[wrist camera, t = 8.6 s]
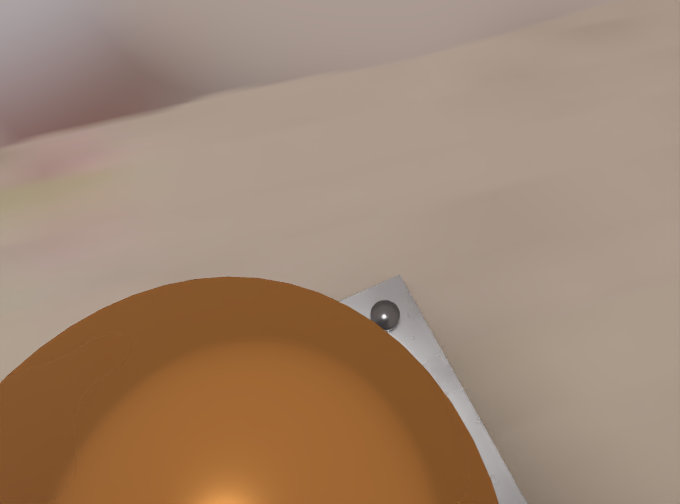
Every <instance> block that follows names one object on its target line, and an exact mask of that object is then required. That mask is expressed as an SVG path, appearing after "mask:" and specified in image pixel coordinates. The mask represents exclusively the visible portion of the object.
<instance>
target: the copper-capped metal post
mask: <svg viewBox="0 0 680 504" xmlns="http://www.w3.org/2000/svg"><path fill="white" fill-rule="evenodd" d="M0 504H499V502H498V499H497V496H496V493H495V490H494V487H493V483H492V480H491V478H490V476H489V474H488V471H487V469H486V467H485V465H484V462H483V460H482V458H481V455H480V453H479V451H478V449H477V446H476V444H475V442H474V440H473V438H472V436H471V434H470V433H469V431H468V429H467V428H466V426H465V424H464V422H463V421H462V419H461V417H460V416H459V414H458V412H457V411H456V409H455V407H454V405H453V404H452V402H451V401H450V400H449V398H448V397H447V396H446V394H445V393H444V392H443V390H442V389H441V388H440V386H439V385H438V384H437V382H436V381H435V380H434V378H433V377H432V376H431V374H430V373H429V372H428V371H427V370H426V369H425V367H424V366H423V365H422V364H421V363H420V362H419V361H418V360H417V359H416V358H415V357H414V356H413V355H412V354H411V353H410V352H409V351H408V350H407V349H406V348H405V347H404V346H403V345H402V344H401V343H400V342H399V341H397V340H396V339H395V338H394V337H392V336H391V335H390V334H389V333H387V332H386V331H385V330H384V329H382V328H381V327H380V326H379V325H378V324H376V323H375V322H373V321H372V320H370V319H368V318H367V317H365V316H363V315H362V314H360V313H359V312H357V311H355V310H354V309H352V308H351V307H349V306H347V305H345V304H343V303H341V302H338V301H336V300H334V299H332V298H330V297H327V296H325V295H323V294H321V293H318V292H315V291H312V290H309V289H305V288H302V287H299V286H296V285H292V284H289V283H284V282H278V281H272V280H266V279H260V278H245V277H217V278H204V279H194V280H189V281H184V282H179V283H173V284H168V285H164V286H161V287H157V288H154V289H151V290H148V291H145V292H142V293H138V294H135V295H132V296H130V297H128V298H125V299H123V300H121V301H119V302H116V303H114V304H112V305H109V306H107V307H105V308H103V309H101V310H99V311H97V312H95V313H93V314H92V315H90V316H88V317H86V318H85V319H83V320H81V321H79V322H78V323H76V324H74V325H72V326H71V327H69V328H68V329H66V330H65V331H63V332H62V333H60V334H59V335H58V336H56V337H55V338H53V339H52V340H51V341H49V342H48V343H46V344H45V345H43V346H42V347H41V348H39V349H38V350H37V351H36V352H34V353H33V354H32V355H31V356H30V357H29V358H27V359H26V360H25V361H24V362H23V363H22V364H20V365H19V366H18V367H17V368H16V369H15V370H13V371H12V372H11V373H10V374H9V375H8V376H7V377H6V378H5V379H4V380H3V381H2V382H1V383H0Z"/></svg>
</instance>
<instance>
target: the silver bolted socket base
mask: <svg viewBox="0 0 680 504" xmlns="http://www.w3.org/2000/svg"><path fill="white" fill-rule="evenodd" d="M338 302H341V303H343V304H345V305H347V306H349V307H351V308H352V309H354V310H355V311H357V312H359V313H360V314H362V315H363V316H365V317H367V318H368V319H370V320H372V321H373V322H375V323H376V324H378V325H379V326H380V327H381V328H382V329H384V330H385V331H386V332H387V333H389V334H390V335H391V336H392V337H394V338H395V339H396V340H397V341H399V342H400V343H401V344H402V345H403V346H404V347H405V348H406V349H407V350H408V351H409V352H410V353H411V354H412V355H413V356H414V357H415V358H416V359H417V360H418V361H419V362H420V363H421V364H422V365H423V366H424V367H425V369H426V370H427V371H428V372H429V373H430V374H431V376H432V377H433V378H434V380H435V381H436V382H437V384H438V385H439V386H440V388H441V389H442V390H443V392H444V393H445V394H446V396H447V397H448V398H449V400H450V401H451V402H452V404H453V405H454V407H455V409H456V411H457V412H458V414H459V416H460V417H461V419H462V421H463V422H464V424H465V426H466V428H467V429H468V431H469V433H470V434H471V436H472V438H473V440H474V442H475V444H476V446H477V449H478V451H479V453H480V455H481V458H482V460H483V462H484V465H485V467H486V469H487V471H488V474H489V476H490V478H491V480H492V483H493V487H494V490H495V493H496V496H497V499H498V502H499V504H527V502H526V500H525V499H524V497H523V495H522V493H521V491H520V490H519V488H518V486H517V484H516V483H515V481H514V479H513V477H512V475H511V474H510V472H509V470H508V468H507V466H506V465H505V463H504V461H503V459H502V457H501V456H500V454H499V452H498V450H497V448H496V447H495V445H494V443H493V441H492V439H491V438H490V436H489V434H488V432H487V431H486V429H485V427H484V425H483V423H482V422H481V420H480V418H479V416H478V414H477V413H476V411H475V409H474V407H473V405H472V404H471V402H470V400H469V398H468V396H467V395H466V393H465V391H464V389H463V387H462V386H461V384H460V382H459V380H458V379H457V377H456V375H455V373H454V371H453V370H452V368H451V366H450V364H449V362H448V361H447V359H446V357H445V355H444V353H443V352H442V350H441V348H440V346H439V344H438V343H437V341H436V339H435V337H434V335H433V334H432V332H431V330H430V328H429V327H428V325H427V323H426V321H425V319H424V318H423V316H422V314H421V312H420V310H419V309H418V307H417V305H416V303H415V301H414V300H413V298H412V296H411V294H410V292H409V291H408V289H407V287H406V285H405V283H404V282H403V280H402V278H401V276H400V275H398V276H396V277H393V278H391V279H389V280H386V281H384V282H382V283H380V284H377V285H375V286H373V287H370V288H368V289H366V290H364V291H361V292H359V293H357V294H354V295H352V296H350V297H348V298H345V299H343V300H341V301H338Z"/></svg>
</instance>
